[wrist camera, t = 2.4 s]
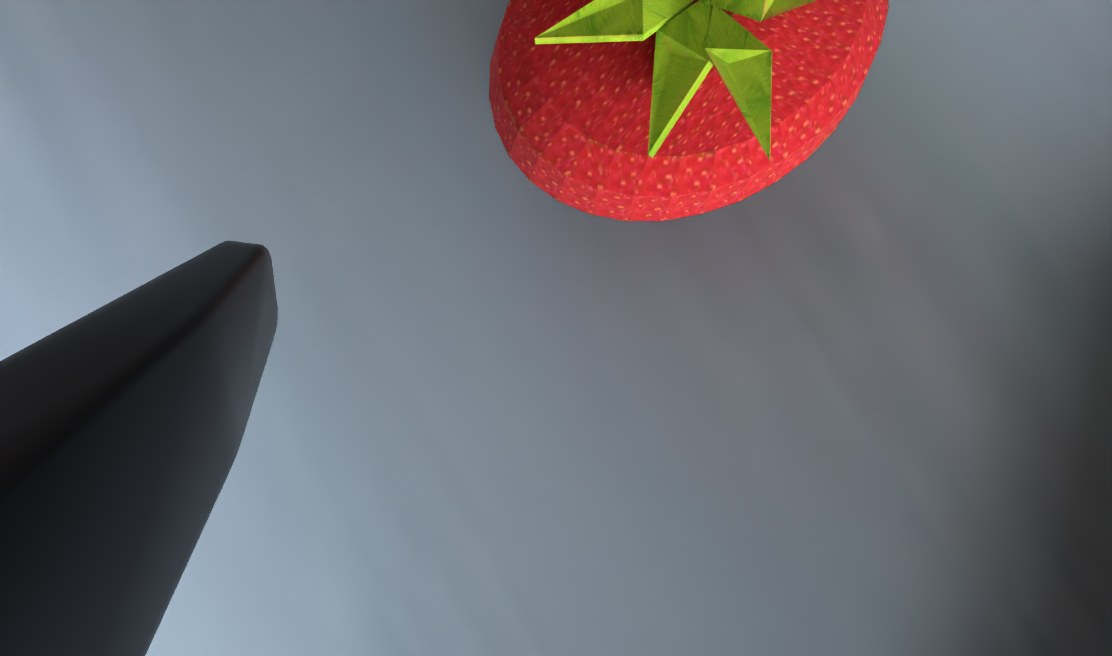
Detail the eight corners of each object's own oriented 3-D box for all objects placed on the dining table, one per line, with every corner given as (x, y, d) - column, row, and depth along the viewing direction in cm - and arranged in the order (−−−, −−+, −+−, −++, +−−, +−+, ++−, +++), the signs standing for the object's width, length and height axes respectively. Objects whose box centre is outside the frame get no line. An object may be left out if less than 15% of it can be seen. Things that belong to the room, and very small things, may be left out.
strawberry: (852, 156, 22) (1103, -64, 12) (586, 325, 21) (618, 243, 12) (716, -44, 22) (848, -416, 12) (452, 117, 22) (372, -134, 12)
